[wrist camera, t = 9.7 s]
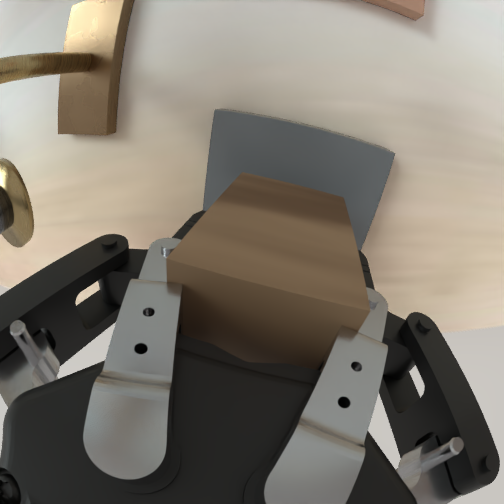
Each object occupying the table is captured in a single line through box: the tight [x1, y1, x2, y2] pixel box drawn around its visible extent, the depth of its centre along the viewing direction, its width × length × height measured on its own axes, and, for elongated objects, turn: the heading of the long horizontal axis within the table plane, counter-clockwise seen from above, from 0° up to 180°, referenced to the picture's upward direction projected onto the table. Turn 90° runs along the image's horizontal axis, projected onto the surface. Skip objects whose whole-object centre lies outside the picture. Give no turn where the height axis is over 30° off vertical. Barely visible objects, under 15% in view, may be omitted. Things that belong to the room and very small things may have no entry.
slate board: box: [203, 109, 395, 250], centre depth 15 cm, size 9×9×1 cm
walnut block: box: [166, 172, 370, 369], centre depth 10 cm, size 4×4×7 cm
